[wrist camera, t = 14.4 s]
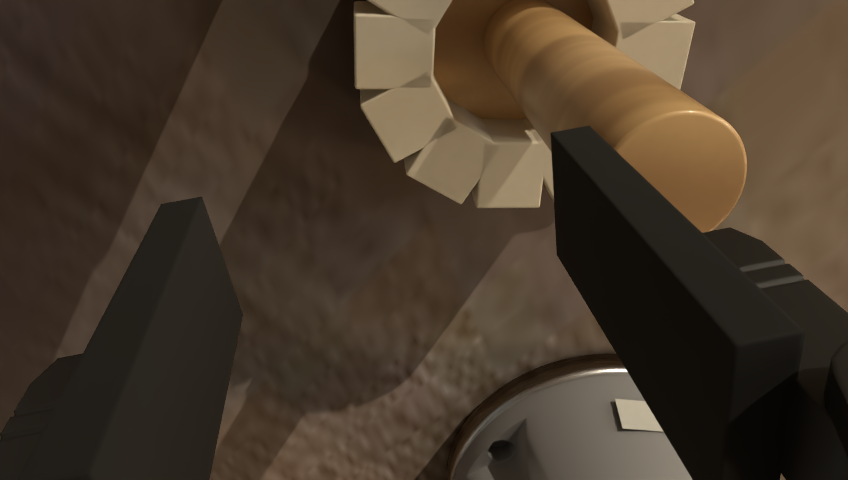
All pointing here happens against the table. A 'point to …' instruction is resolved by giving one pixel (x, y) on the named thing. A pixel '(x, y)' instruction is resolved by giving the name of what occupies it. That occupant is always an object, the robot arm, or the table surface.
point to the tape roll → (465, 132)
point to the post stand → (588, 97)
